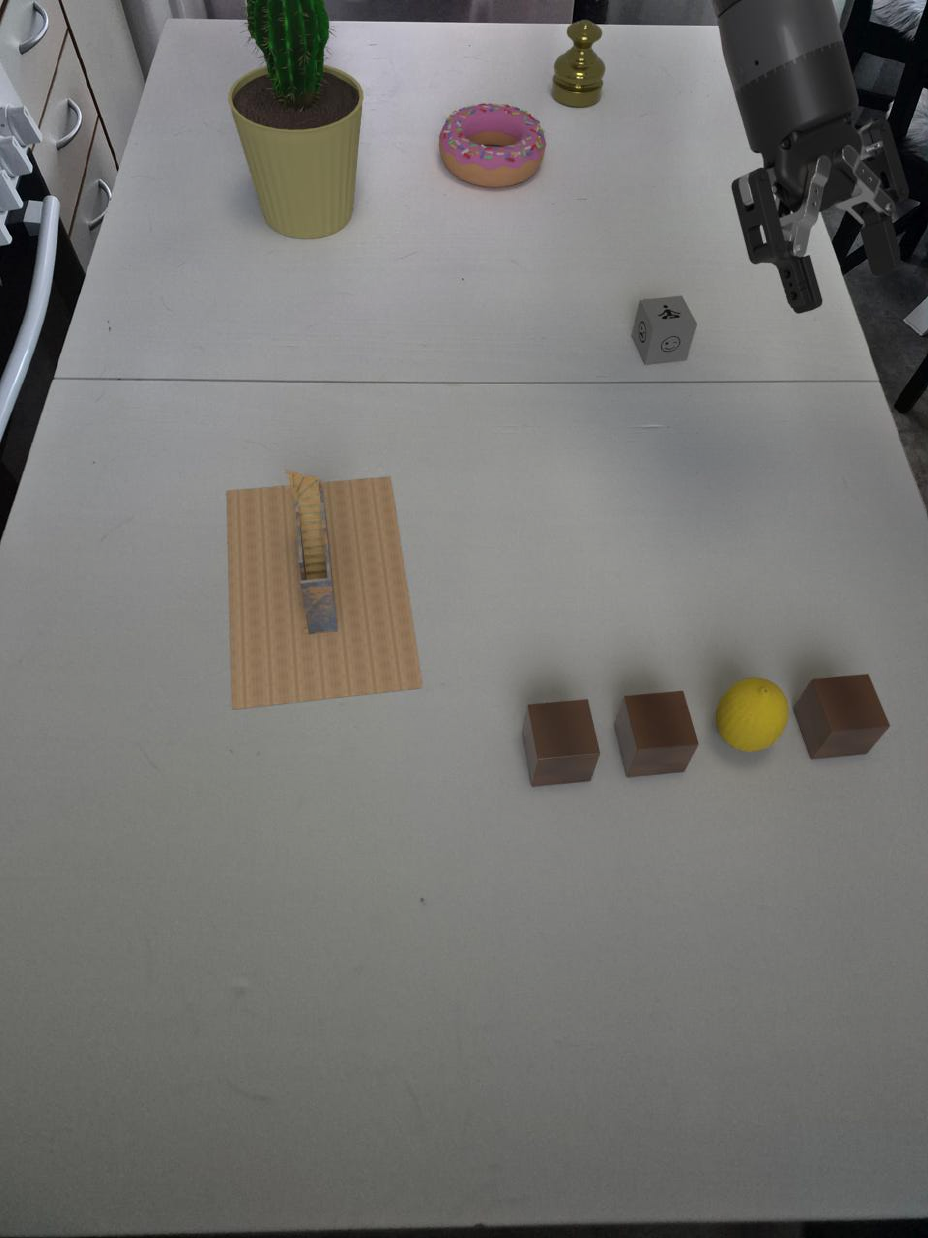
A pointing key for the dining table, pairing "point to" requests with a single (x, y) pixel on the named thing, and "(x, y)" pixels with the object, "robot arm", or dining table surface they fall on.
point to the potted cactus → (298, 120)
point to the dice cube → (663, 329)
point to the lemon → (752, 714)
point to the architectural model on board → (317, 593)
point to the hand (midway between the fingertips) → (849, 290)
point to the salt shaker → (579, 68)
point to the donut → (492, 127)
